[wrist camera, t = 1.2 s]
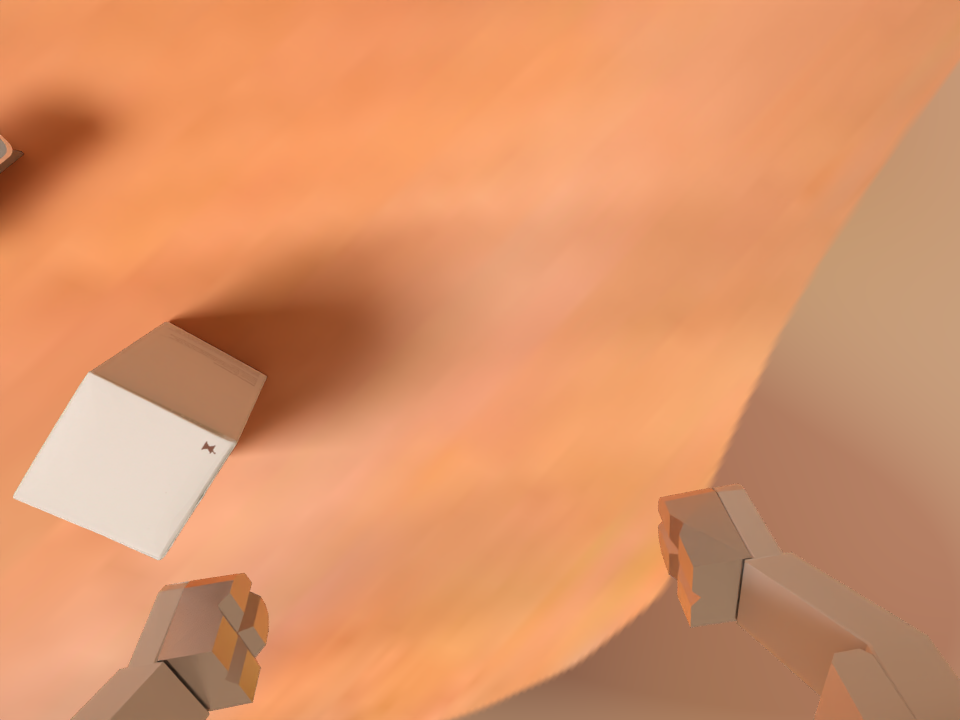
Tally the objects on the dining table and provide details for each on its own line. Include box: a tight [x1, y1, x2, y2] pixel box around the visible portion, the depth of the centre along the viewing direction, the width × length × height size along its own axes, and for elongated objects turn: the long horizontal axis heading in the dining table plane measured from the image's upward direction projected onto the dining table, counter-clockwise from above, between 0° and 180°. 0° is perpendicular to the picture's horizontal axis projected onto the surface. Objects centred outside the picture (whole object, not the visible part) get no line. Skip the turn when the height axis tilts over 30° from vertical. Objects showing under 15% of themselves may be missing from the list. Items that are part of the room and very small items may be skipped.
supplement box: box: [13, 322, 267, 560], centre depth 34 cm, size 7×7×13 cm
